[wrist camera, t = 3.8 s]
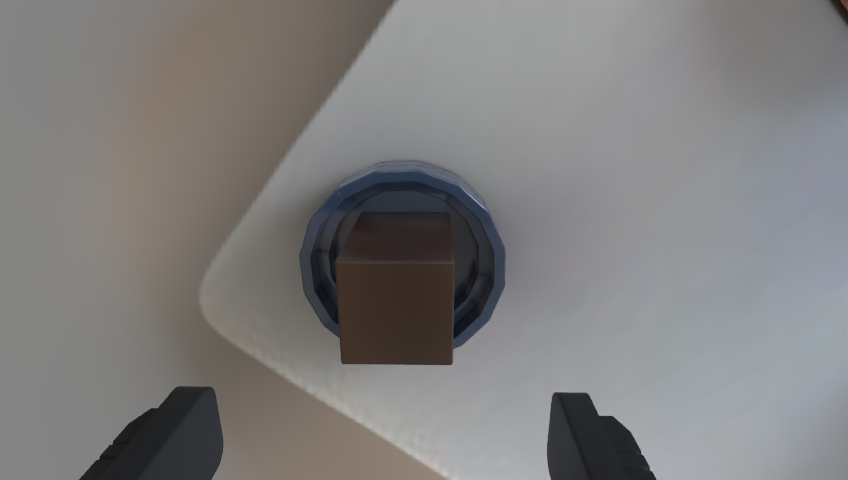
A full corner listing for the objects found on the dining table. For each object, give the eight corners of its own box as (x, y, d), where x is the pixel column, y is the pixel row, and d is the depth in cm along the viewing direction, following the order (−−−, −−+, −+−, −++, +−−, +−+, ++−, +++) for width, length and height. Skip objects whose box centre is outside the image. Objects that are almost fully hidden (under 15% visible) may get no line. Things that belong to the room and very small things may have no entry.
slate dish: (294, 299, 24) (278, 325, 21) (345, 131, 21) (333, 138, 18) (457, 353, 24) (460, 383, 22) (526, 198, 22) (538, 213, 19)
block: (363, 293, 23) (341, 365, 17) (360, 212, 22) (334, 260, 16) (448, 294, 23) (452, 365, 17) (449, 212, 22) (454, 261, 16)
